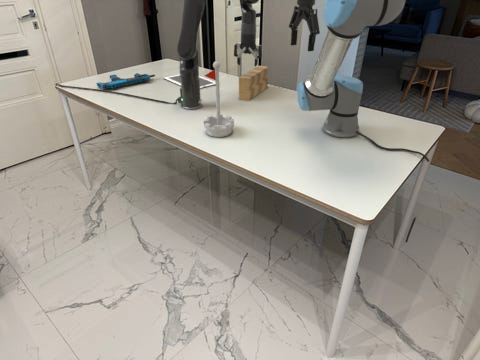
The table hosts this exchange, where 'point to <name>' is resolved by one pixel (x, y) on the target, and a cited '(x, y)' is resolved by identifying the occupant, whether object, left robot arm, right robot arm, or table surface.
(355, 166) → the table surface
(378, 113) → the table surface
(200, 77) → the tablet
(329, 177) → the table surface
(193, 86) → the left robot arm
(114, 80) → the submachine gun
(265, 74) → the box
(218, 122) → the flag stand
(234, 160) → the table surface
